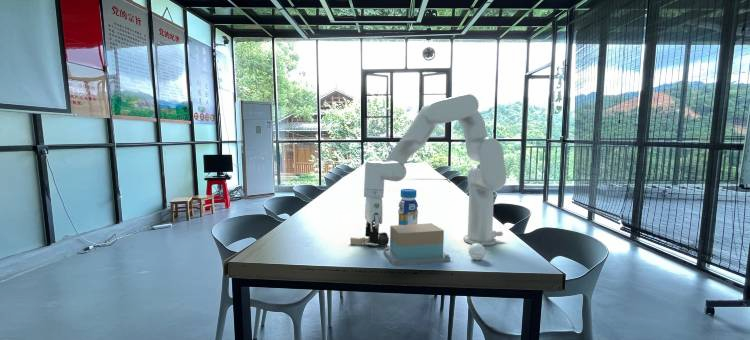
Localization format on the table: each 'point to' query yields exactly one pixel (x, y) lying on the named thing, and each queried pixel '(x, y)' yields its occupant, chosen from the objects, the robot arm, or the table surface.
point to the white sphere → (477, 251)
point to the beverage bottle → (408, 207)
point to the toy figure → (382, 241)
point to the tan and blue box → (416, 244)
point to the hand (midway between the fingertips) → (371, 238)
